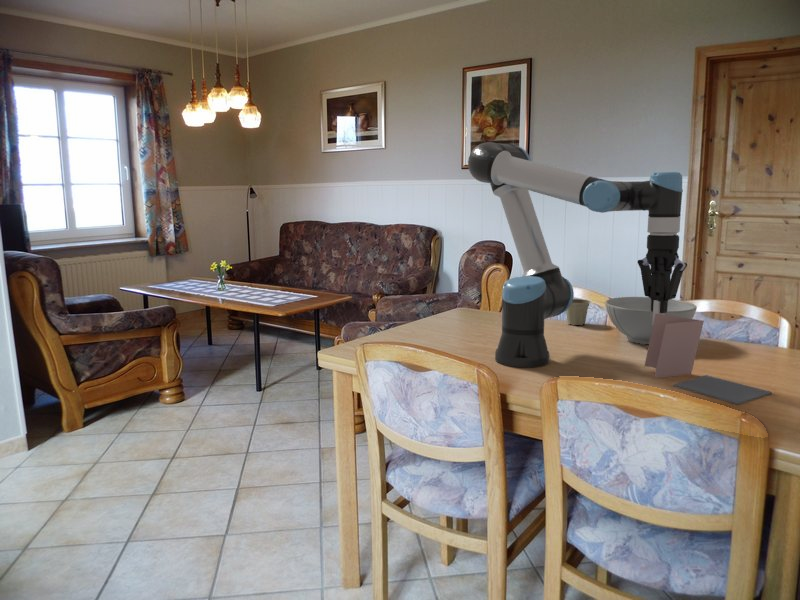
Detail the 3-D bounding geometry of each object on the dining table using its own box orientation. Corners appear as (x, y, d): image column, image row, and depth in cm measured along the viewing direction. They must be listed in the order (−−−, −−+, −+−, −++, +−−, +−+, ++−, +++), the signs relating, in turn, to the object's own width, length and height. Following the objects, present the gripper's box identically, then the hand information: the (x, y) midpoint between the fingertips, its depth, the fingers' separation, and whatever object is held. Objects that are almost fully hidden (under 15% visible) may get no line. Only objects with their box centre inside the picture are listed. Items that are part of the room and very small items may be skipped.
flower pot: (557, 322, 219) (558, 299, 217) (579, 320, 222) (580, 298, 220) (572, 327, 210) (573, 303, 209) (594, 325, 213) (596, 302, 211)
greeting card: (690, 372, 155) (703, 319, 150) (694, 385, 148) (707, 330, 143) (644, 364, 158) (655, 312, 153) (645, 376, 152) (656, 322, 147)
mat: (737, 404, 131) (737, 402, 131) (672, 385, 145) (672, 384, 145) (771, 393, 138) (771, 391, 138) (706, 376, 152) (706, 375, 152)
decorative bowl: (587, 339, 192) (588, 303, 190) (630, 327, 209) (632, 294, 207) (668, 356, 172) (671, 315, 170) (708, 341, 189) (711, 303, 187)
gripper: (696, 234, 147) (690, 327, 151) (650, 232, 158) (645, 319, 162) (677, 235, 143) (671, 330, 147) (631, 233, 154) (627, 322, 158)
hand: (658, 324), depth 155 cm, fingers closed
